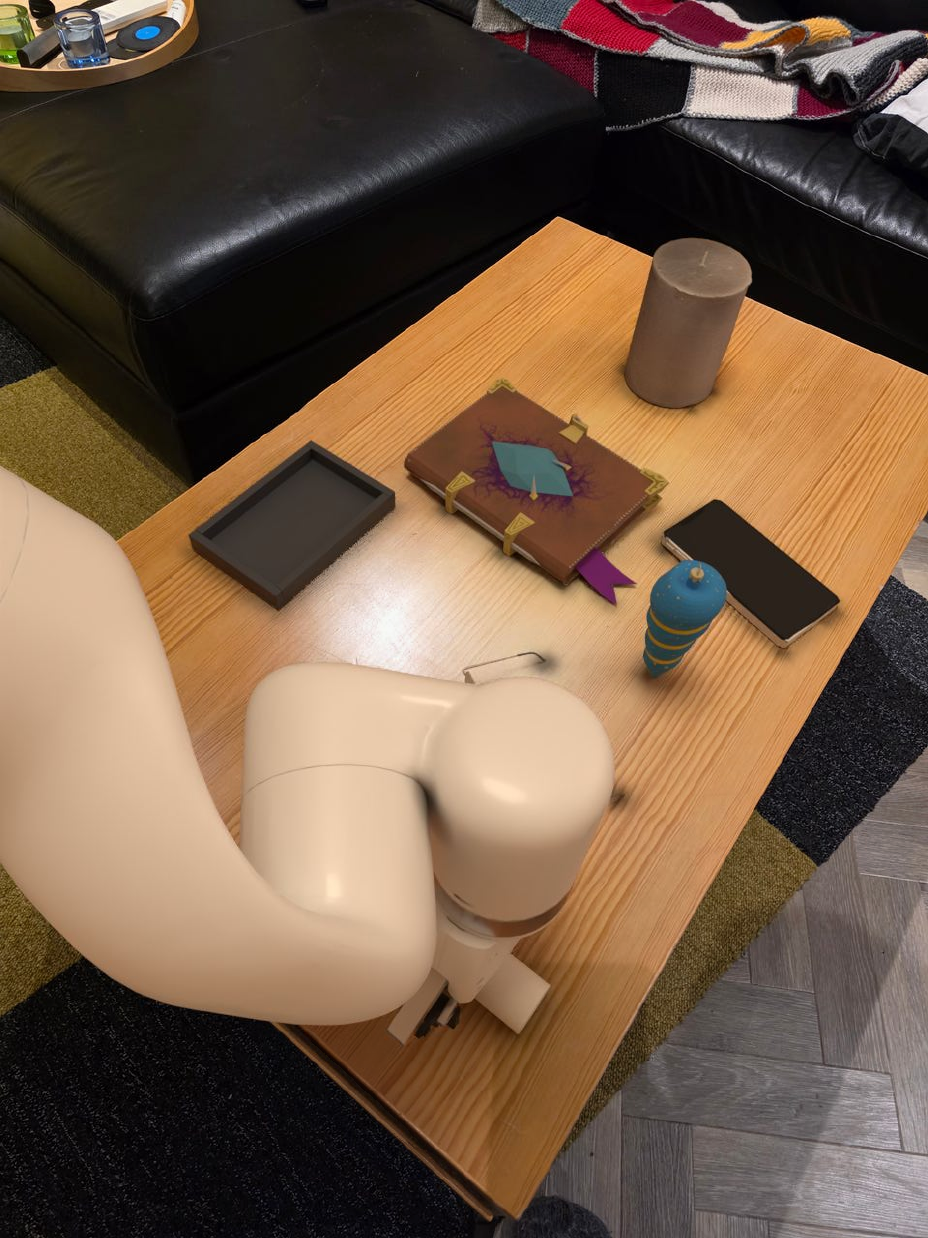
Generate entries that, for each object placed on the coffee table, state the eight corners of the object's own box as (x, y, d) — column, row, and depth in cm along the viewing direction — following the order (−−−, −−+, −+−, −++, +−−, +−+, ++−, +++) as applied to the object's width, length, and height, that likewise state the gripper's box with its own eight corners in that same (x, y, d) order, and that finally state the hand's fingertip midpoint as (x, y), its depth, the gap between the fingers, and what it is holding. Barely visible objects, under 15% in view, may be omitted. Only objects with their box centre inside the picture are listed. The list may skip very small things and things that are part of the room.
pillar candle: (635, 342, 99) (666, 215, 87) (720, 364, 97) (764, 238, 85) (614, 395, 93) (644, 268, 81) (704, 419, 92) (749, 293, 80)
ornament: (686, 658, 74) (740, 544, 62) (681, 709, 71) (737, 600, 59) (626, 645, 75) (667, 529, 63) (619, 696, 72) (660, 585, 60)
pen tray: (278, 610, 75) (275, 596, 74) (192, 549, 79) (187, 534, 77) (395, 507, 83) (395, 491, 81) (313, 455, 86) (310, 439, 84)
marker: (554, 981, 58) (546, 990, 55) (523, 1028, 58) (514, 1039, 54) (435, 888, 61) (421, 890, 58) (406, 932, 61) (390, 937, 57)
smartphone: (785, 644, 74) (659, 533, 81) (780, 652, 75) (656, 542, 82) (843, 599, 78) (718, 495, 84) (838, 606, 79) (714, 504, 85)
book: (599, 627, 77) (607, 595, 73) (399, 481, 86) (396, 445, 82) (705, 521, 83) (718, 486, 79) (509, 396, 92) (512, 358, 88)
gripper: (538, 698, 49) (512, 817, 63) (328, 949, 41) (352, 1022, 55) (654, 774, 47) (600, 881, 61) (455, 1058, 39) (446, 1105, 53)
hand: (482, 948), depth 58 cm, fingers open, 9 cm apart
